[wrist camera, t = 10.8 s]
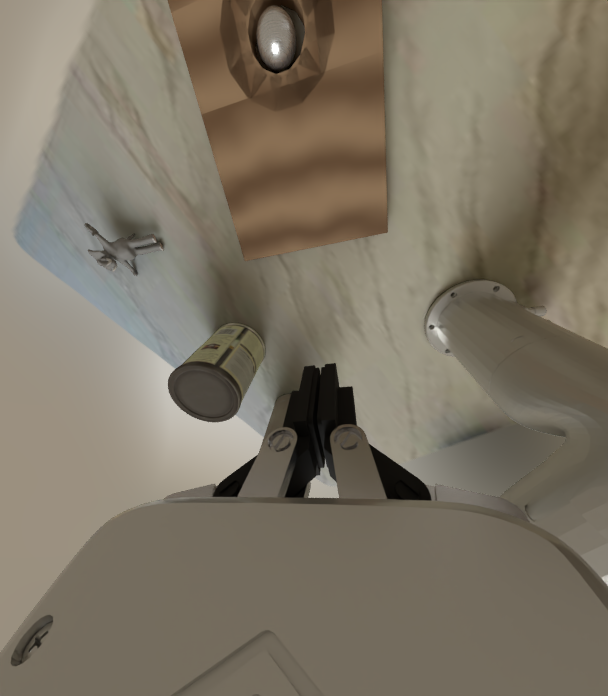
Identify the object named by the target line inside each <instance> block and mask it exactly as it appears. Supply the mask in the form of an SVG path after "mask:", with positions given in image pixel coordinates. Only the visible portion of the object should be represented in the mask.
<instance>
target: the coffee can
mask: <svg viewBox="0 0 608 696" xmlns="http://www.w3.org/2000/svg"><path fill="white" fill-rule="evenodd" d="M264 356H265V345H264V342H263V340H262V338H261V337H260V335H259V334H258V333H257V332H256V331H254V330H253V329H252V328H250V327H249V326H246V325H244V324H240V323H229V324H225V325H223V326H221V327H220V328H219V329H218V330H217V331H216V332H215V333H214V334H213V335H212V336H211V337H210V338H209V339H208V340H207V341H206V342H205V343H204V344H203V345H202V346H201V347H200V348H199V349H198V350H197V351H195V352H194V353H193V354H192V355H191V356H190V357H189V358H188V359H187V360H186V361H185V362H184V363H183V364H182V365H181V366H179V367H178V368H176V369H175V370H174V371H173V372H172V373H171V375H170V377H169V379H168V389H169V393H170V395H171V397H172V399H173V401H174V402H175V403H176V404H177V405H178V406H179V407H180V408H181V409H182V410H183V411H184V412H186V413H187V414H189V415H191V416H192V417H194V418H197V419H200V420H203V421H207V422H222V421H226V420H229V419H230V418H232V417H233V416H234V415H235V414H236V413H237V412H238V410H239V408H240V405H241V402H242V400H243V398H244V396H245V394H246V392H247V390H248V388H249V386H250V384H251V382H252V380H253V378H254V376H255V374H256V372H257V370H258V368H259V366H260V364H261V362H262V361H263V359H264Z"/></svg>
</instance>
